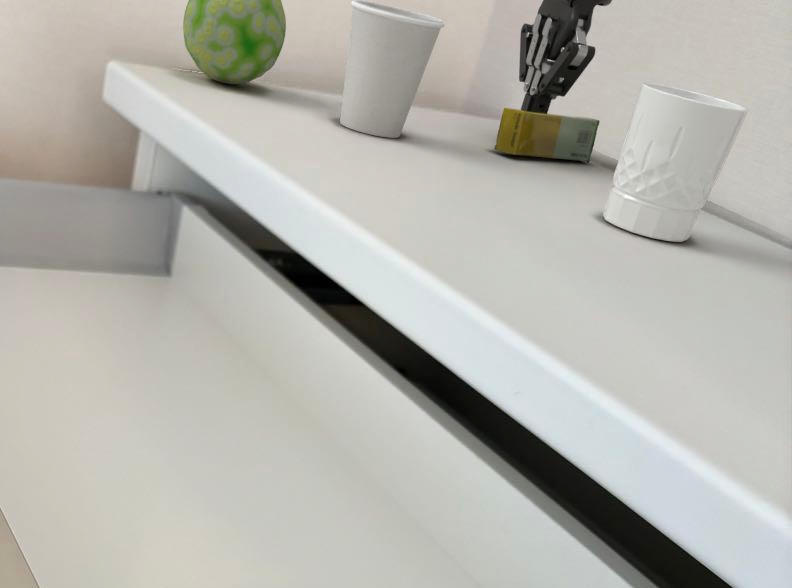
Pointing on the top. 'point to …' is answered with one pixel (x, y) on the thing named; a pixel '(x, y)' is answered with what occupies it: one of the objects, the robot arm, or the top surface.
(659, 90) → the white cup
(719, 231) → the top surface
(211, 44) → the decorative ball
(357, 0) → the dixie cup
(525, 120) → the medication box
